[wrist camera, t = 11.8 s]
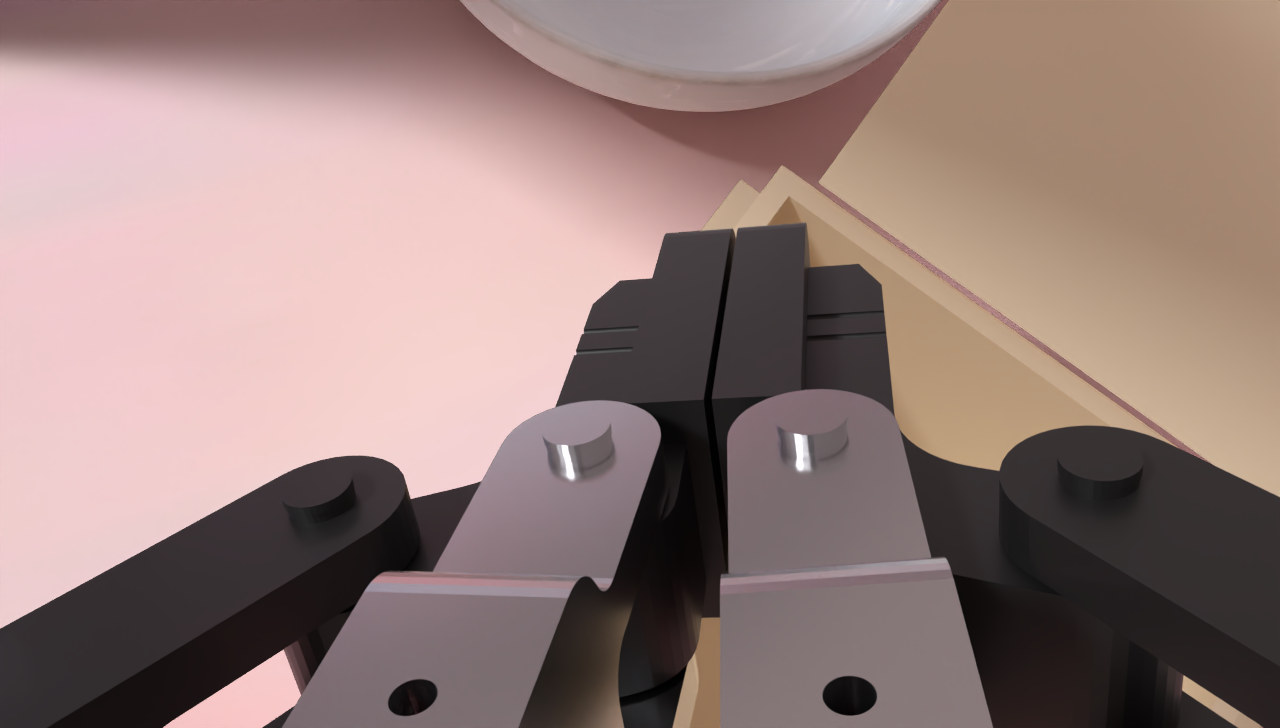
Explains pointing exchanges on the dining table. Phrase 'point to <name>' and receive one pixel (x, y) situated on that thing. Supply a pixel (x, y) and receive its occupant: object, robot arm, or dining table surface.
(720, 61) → the serving bowl
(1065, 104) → the carton flap
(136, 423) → the dining table surface
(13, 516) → the dining table surface
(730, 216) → the carton
